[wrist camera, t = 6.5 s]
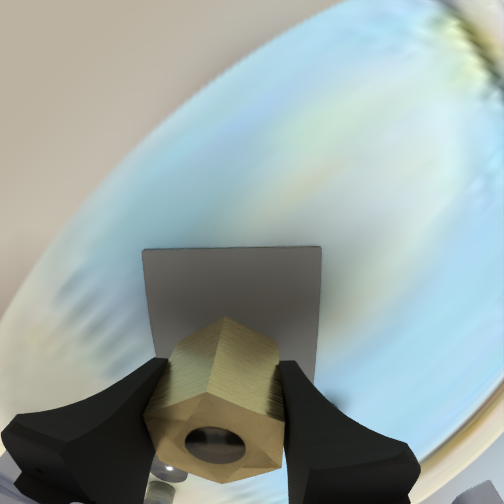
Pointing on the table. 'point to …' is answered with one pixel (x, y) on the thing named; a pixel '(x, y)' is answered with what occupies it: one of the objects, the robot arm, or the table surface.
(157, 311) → the mat
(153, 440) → the brass nut
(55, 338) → the table surface
